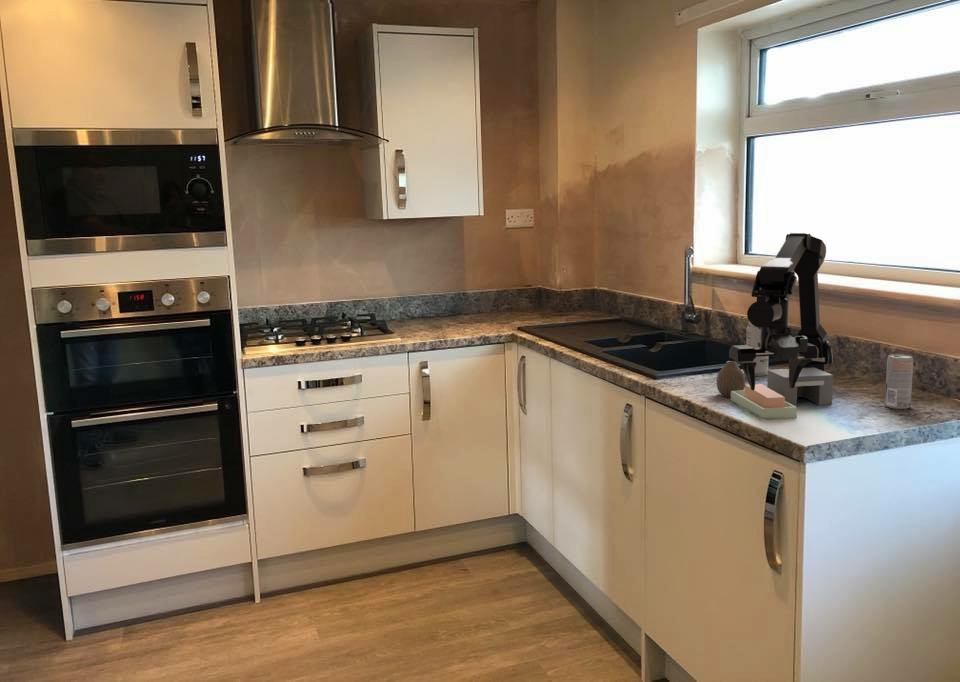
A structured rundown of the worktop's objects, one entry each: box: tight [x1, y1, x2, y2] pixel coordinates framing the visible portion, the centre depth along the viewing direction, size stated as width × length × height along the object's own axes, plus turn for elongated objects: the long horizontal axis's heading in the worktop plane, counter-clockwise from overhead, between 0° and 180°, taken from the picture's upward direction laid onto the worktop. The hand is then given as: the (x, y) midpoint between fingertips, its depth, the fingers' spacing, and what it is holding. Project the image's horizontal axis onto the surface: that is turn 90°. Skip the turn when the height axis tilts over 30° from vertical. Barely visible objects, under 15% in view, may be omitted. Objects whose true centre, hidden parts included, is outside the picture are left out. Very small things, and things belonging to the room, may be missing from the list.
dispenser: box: [766, 368, 834, 407], centre depth 195 cm, size 10×12×7 cm
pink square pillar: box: [744, 383, 785, 408], centre depth 188 cm, size 14×4×4 cm, turn 2°
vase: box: [716, 360, 746, 398], centre depth 202 cm, size 7×7×9 cm
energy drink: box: [884, 353, 914, 410], centre depth 187 cm, size 5×5×12 cm
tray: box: [730, 389, 798, 420], centre depth 189 cm, size 18×8×2 cm, turn 5°
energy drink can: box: [745, 320, 770, 377], centre depth 226 cm, size 6×6×15 cm
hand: (772, 389), depth 183 cm, fingers open, 9 cm apart
